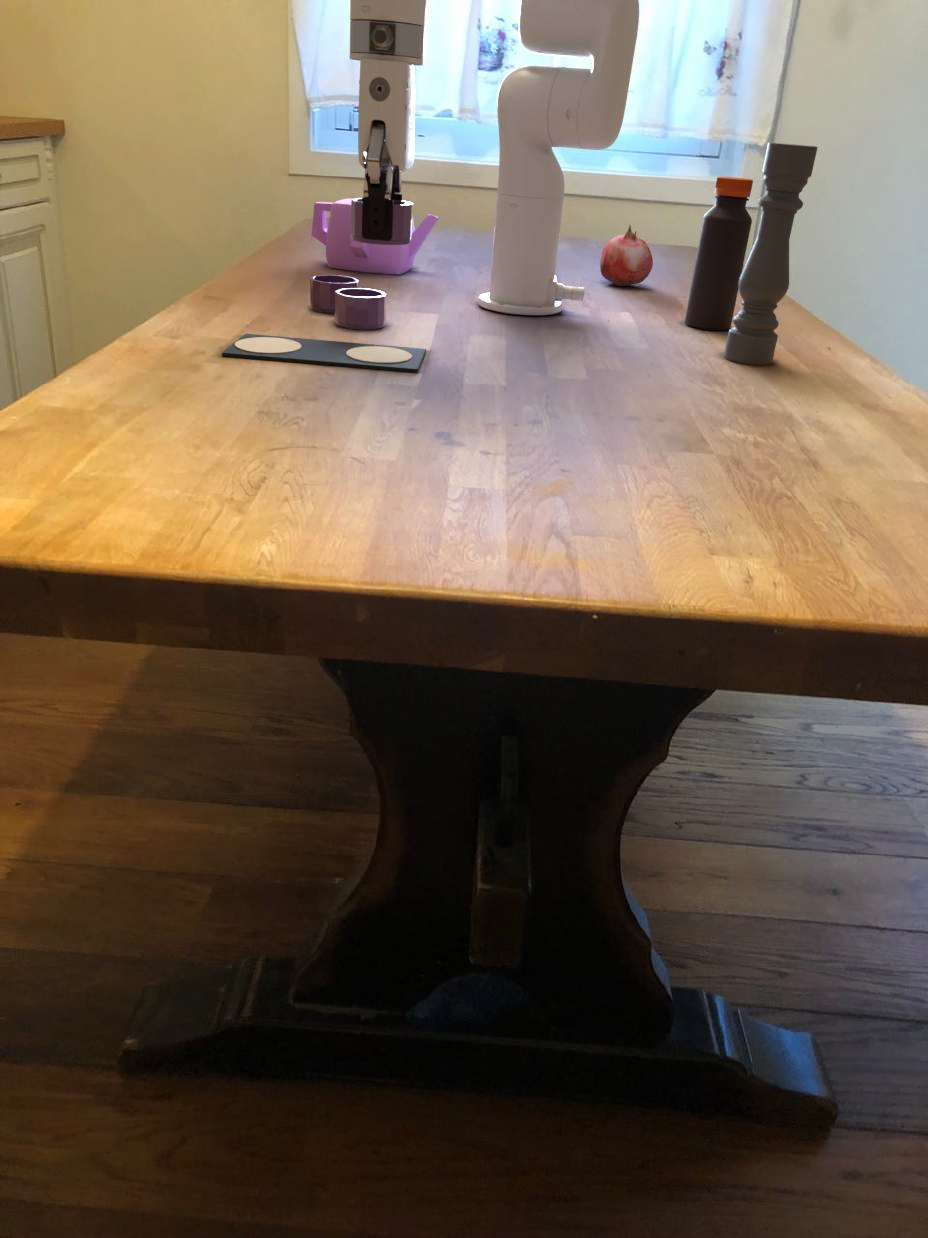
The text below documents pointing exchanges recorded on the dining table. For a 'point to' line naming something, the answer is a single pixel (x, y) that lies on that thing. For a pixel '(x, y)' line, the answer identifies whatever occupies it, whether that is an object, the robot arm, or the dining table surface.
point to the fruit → (626, 260)
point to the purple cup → (328, 290)
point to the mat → (327, 352)
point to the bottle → (720, 256)
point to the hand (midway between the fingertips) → (381, 233)
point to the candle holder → (769, 255)
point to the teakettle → (359, 254)
